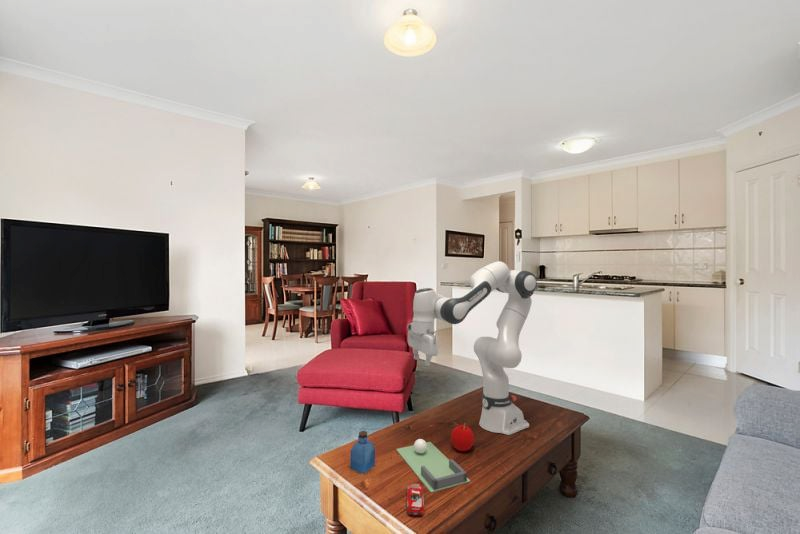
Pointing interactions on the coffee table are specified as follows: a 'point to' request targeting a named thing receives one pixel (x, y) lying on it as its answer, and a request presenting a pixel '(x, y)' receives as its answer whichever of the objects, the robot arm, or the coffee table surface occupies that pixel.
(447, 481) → the gray u-shaped frame
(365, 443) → the perfume bottle
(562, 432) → the coffee table surface
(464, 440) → the fruit
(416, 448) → the ball
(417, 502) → the race car
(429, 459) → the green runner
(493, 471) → the coffee table surface
